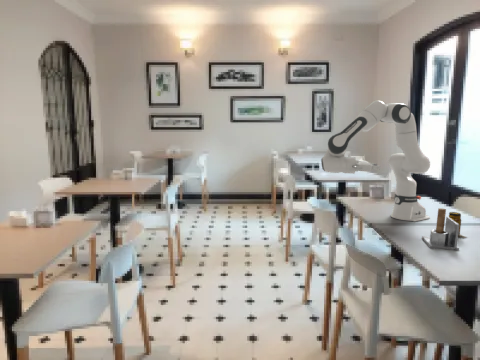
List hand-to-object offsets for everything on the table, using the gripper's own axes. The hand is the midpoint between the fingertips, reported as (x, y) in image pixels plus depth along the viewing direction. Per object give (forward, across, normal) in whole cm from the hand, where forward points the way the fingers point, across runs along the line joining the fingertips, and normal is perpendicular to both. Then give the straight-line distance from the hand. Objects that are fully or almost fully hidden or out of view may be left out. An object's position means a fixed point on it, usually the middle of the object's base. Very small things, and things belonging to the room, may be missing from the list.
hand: (378, 166), depth 192 cm
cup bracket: (+26, -21, +34) cm, 48 cm away
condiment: (+39, -5, +34) cm, 52 cm away
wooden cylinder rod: (+26, -21, +33) cm, 47 cm away
